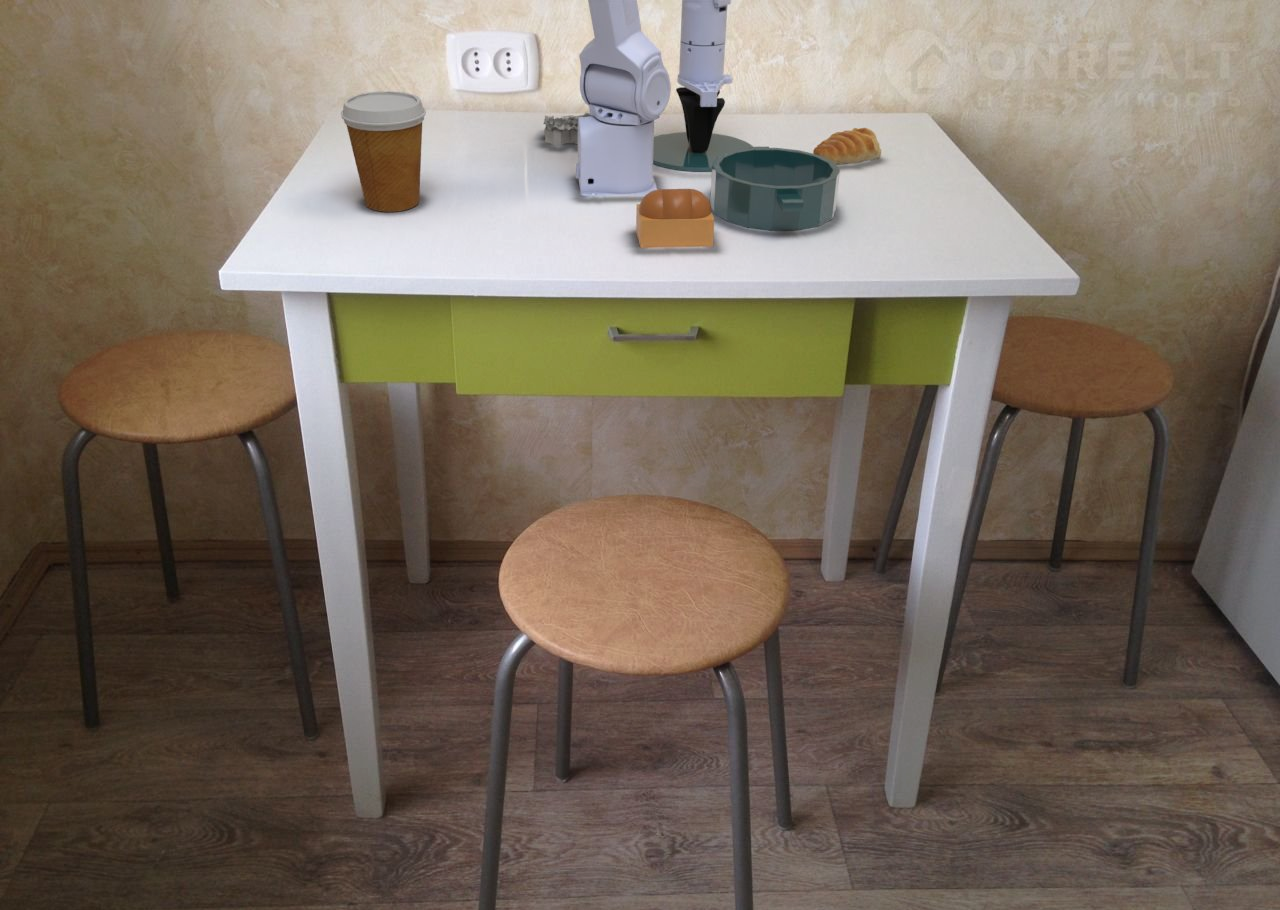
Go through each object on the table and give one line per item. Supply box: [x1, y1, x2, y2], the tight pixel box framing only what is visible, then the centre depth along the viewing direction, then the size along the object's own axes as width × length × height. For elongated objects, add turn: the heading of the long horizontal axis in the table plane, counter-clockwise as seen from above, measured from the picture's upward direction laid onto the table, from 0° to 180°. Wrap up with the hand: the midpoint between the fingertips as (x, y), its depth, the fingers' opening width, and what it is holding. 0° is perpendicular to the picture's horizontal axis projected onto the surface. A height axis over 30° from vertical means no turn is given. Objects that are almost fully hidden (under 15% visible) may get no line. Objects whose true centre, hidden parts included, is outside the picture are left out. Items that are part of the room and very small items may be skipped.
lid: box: [653, 131, 754, 173], centre depth 152 cm, size 16×16×5 cm
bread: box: [635, 188, 715, 249], centre depth 125 cm, size 8×5×6 cm, turn 96°
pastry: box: [812, 127, 882, 166], centre depth 152 cm, size 9×7×4 cm
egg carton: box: [543, 112, 593, 147], centre depth 156 cm, size 11×8×4 cm
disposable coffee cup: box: [340, 90, 427, 213], centre depth 133 cm, size 10×10×12 cm
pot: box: [709, 146, 841, 232], centre depth 134 cm, size 15×20×6 cm
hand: (697, 147), depth 152 cm, fingers closed on lid, 2 cm apart
